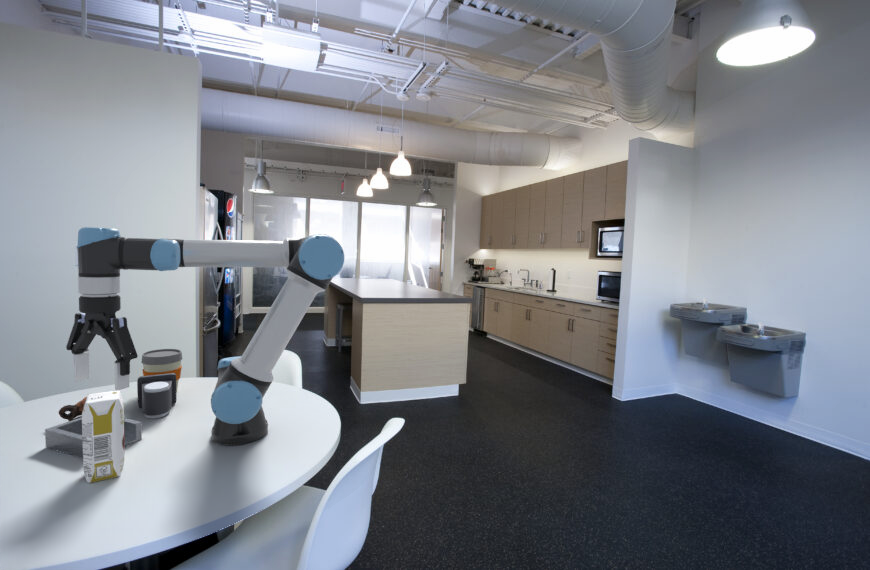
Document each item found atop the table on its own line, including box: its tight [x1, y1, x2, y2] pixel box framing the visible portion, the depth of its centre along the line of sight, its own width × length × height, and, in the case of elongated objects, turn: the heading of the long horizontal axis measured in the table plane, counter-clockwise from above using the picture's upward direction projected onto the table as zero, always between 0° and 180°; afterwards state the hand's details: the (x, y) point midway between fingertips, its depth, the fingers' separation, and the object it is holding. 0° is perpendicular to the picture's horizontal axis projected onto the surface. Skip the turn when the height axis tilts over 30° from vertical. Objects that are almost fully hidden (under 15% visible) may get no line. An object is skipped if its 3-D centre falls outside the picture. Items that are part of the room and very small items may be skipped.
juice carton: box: [81, 390, 126, 484], centre depth 99 cm, size 8×9×19 cm
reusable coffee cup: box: [140, 348, 183, 393], centre depth 152 cm, size 13×13×15 cm
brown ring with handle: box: [58, 396, 87, 422], centre depth 127 cm, size 12×10×8 cm
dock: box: [44, 416, 143, 459], centre depth 114 cm, size 18×13×5 cm
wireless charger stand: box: [136, 373, 177, 419], centre depth 136 cm, size 11×13×11 cm
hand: (101, 384), depth 98 cm, fingers open, 13 cm apart
